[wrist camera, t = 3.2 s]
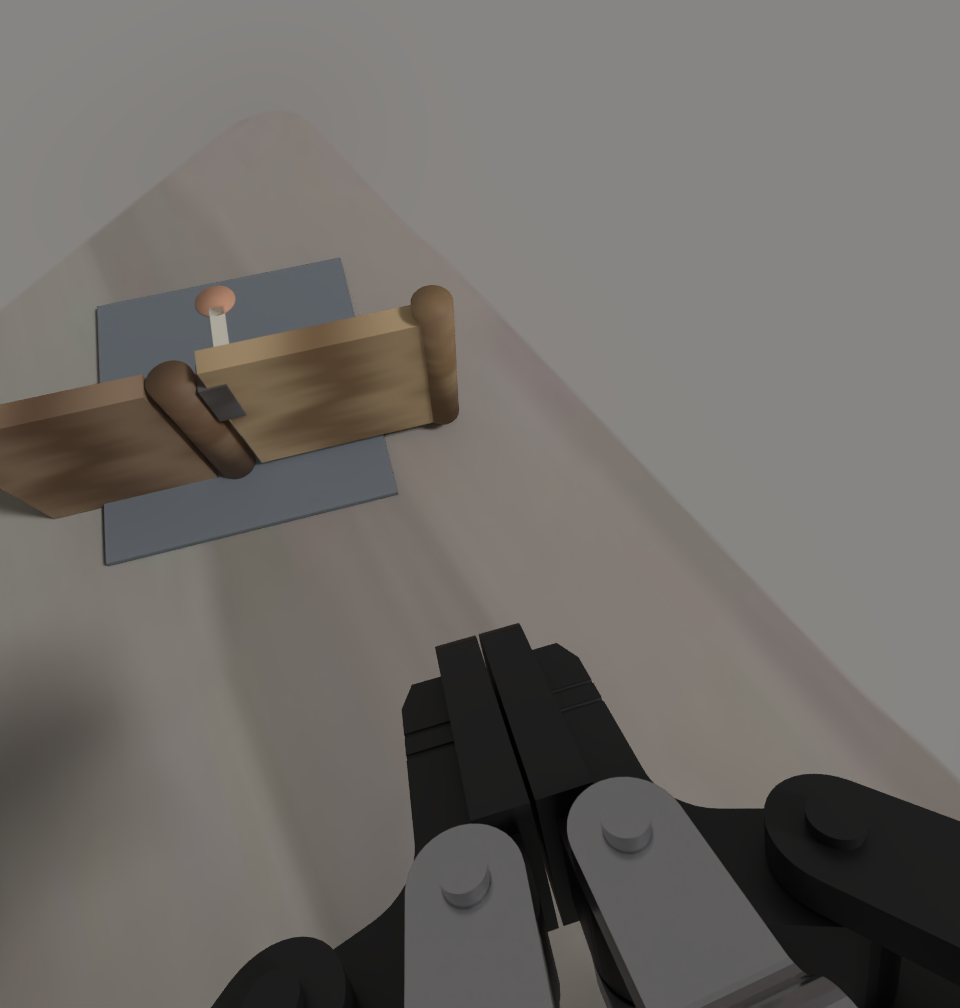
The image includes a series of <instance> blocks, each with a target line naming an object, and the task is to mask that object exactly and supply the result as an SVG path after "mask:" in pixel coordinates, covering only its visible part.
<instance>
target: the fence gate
mask: <svg viewBox="0 0 960 1008" xmlns="http://www.w3.org/2000/svg"><path fill="white" fill-rule="evenodd" d="M194 352H195V361H196V366H195V371H196V380H197V389H198V393H199V394H200V396H201V397H202V398H203V400H204V401H205V402H206V403H207V405H208V406H209V407H210V409H211V410H212V411H213V413H214V414H215V415H216V416H217V418H218V419H219V420H220V421H225V420H229V419H230V420H231V421H232V423H233V424H234V425H235V427H236V428H237V429H238V431H239V432H240V434H241V435H242V436H243V438H244V439H245V440H246V442H247V443H248V444H249V446H250V447H251V449H252V450H253V451H254V453H255V454H256V455H257V457H258V458H259V460H260V461H261V462H262V463H263V462H268V461H272V460H276V459H280V458H285V457H289V456H293V455H297V454H301V453H306V452H310V451H314V450H318V449H323V448H327V447H331V446H335V445H340V444H344V443H348V442H352V441H357V440H361V439H365V438H369V437H374V436H378V435H382V434H386V433H391V432H395V431H399V430H403V429H407V428H412V427H416V426H420V425H424V424H429V423H433V422H434V423H436V424H440V425H444V424H449V423H451V422H453V421H454V420H455V419H456V418H457V416H458V413H459V403H458V384H457V365H456V345H455V326H454V307H453V297H452V295H451V293H450V292H449V291H448V290H446V289H445V288H443V287H440V286H436V285H429V286H425V287H422V288H420V289H418V290H417V291H416V292H415V293H414V294H413V296H412V298H411V305H409V306H404V307H399V308H395V309H390V310H385V311H380V312H376V313H371V314H366V315H362V316H357V317H352V318H348V319H343V320H338V321H333V322H329V323H324V324H319V325H315V326H310V327H305V328H301V329H296V330H291V331H286V332H282V333H277V334H272V335H268V336H263V337H258V338H254V339H249V340H244V341H239V342H235V343H230V344H225V345H221V346H216V347H211V348H207V349H202V350H197V351H194Z"/></svg>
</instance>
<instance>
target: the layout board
mask: <svg viewBox="0 0 960 1008" xmlns="http://www.w3.org/2000/svg"><path fill="white" fill-rule="evenodd" d="M97 315H98V345H99V374H100V383H103V382H108V381H112V380H117V379H122V378H126V377H131V376H136V375H140V374H142V375H143V376H144V377H145V378H146V377H147V375H148V373H149V372H150V371H151V370H152V369H153V368H154V367H155V366H157V365H158V364H160V363H163V362H166V361H171V360H177V361H182V362H184V363H186V364H187V365H189V366H190V368H191V369H192V370H193V372H194V373H195V374H196V371H195V366H196V361H195V352H194V351H197V350H202V349H207V348H211V347H216V346H221V345H225V344H230V343H235V342H239V341H244V340H249V339H254V338H258V337H263V336H268V335H272V334H277V333H282V332H286V331H291V330H296V329H301V328H305V327H310V326H315V325H319V324H324V323H329V322H333V321H338V320H343V319H348V318H352V317H355V316H354V312H353V308H352V304H351V299H350V295H349V291H348V287H347V283H346V279H345V275H344V271H343V267H342V263H341V259H340V258H336V259H331V260H326V261H321V262H316V263H311V264H306V265H301V266H296V267H291V268H286V269H281V270H276V271H271V272H266V273H261V274H256V275H251V276H246V277H241V278H236V279H231V280H226V281H221V282H216V283H211V284H207V285H202V286H197V287H192V288H187V289H182V290H177V291H172V292H167V293H162V294H157V295H152V296H147V297H142V298H137V299H132V300H127V301H122V302H117V303H112V304H107V305H102V306H97ZM229 420H230V419H229ZM230 422H231V423H232V421H231V420H230ZM232 425H233V426H234V427H235V425H234V424H233V423H232ZM235 429H236V430H237V431H238V429H237V428H236V427H235ZM238 433H239V434H240V432H239V431H238ZM240 435H241V434H240ZM241 437H242V438H243V436H242V435H241ZM243 439H244V438H243ZM244 441H245V442H246V440H245V439H244ZM246 444H247V445H248V446H249V444H248V443H247V442H246ZM249 448H250V449H251V447H250V446H249ZM251 450H252V449H251ZM252 452H253V453H254V451H253V450H252ZM254 455H255V458H256V463H255V466H254V468H253V470H252V471H251V472H250V473H249V474H248V475H247V476H245V477H243V478H240V479H228V478H226V477H224V476H223V475H222V474H221V473H220V472H219V471H218V470H217V476H218V477H217V478H212V479H208V480H204V481H200V482H195V483H191V484H187V485H183V486H179V487H174V488H170V489H166V490H162V491H157V492H153V493H149V494H145V495H141V496H136V497H132V498H128V499H124V500H119V501H115V502H111V503H107V504H104V522H105V552H106V564H107V565H109V566H111V565H115V564H119V563H123V562H127V561H131V560H135V559H139V558H143V557H147V556H151V555H155V554H159V553H163V552H167V551H171V550H175V549H179V548H183V547H187V546H192V545H196V544H200V543H204V542H208V541H212V540H216V539H220V538H224V537H228V536H232V535H236V534H240V533H244V532H248V531H252V530H256V529H260V528H264V527H268V526H272V525H276V524H280V523H284V522H288V521H292V520H296V519H300V518H305V517H309V516H313V515H317V514H321V513H325V512H329V511H333V510H337V509H341V508H345V507H349V506H353V505H357V504H361V503H365V502H369V501H373V500H377V499H381V498H385V497H389V496H393V495H397V494H398V492H397V487H396V483H395V479H394V475H393V471H392V467H391V463H390V459H389V455H388V451H387V447H386V442H385V438H384V434H382V435H378V436H374V437H369V438H365V439H361V440H357V441H352V442H348V443H344V444H340V445H335V446H331V447H327V448H323V449H318V450H314V451H310V452H306V453H301V454H297V455H293V456H289V457H285V458H280V459H276V460H272V461H268V462H263V463H262V462H261V461H260V460H259V458H258V457H257V455H256V454H255V453H254Z"/></svg>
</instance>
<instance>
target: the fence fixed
mask: <svg viewBox="0 0 960 1008" xmlns="http://www.w3.org/2000/svg"><path fill="white" fill-rule="evenodd" d="M255 463H256V458H255V455H254V453H253V452H252V450H251V449H250V448H249V446H248V445H247V444H246V442H245V441H244V439H243V438H242V437H241V435H240V434H239V433H238V431H237V430H236V429H235V427H234V426H233V425H232V423H231V422H230V420H225V421H220V420H219V419H218V418H217V416H216V415H215V414H214V413H213V411H212V410H211V409H210V407H209V406H208V405H207V403H206V402H205V401H204V400H203V398H202V397H201V396H200V394H199V393H198V389H197V380H196V374H195V373H194V372H193V370H192V369H191V368H190V366H189V365H187V364H186V363H184V362H182V361H177V360H171V361H166V362H163V363H160V364H158V365H157V366H155V367H154V368H153V369H152V370H151V371H150V372H149V373H148V375H147V377H146V378H145V377H144V376H143V375H142V374H140V375H136V376H131V377H126V378H122V379H117V380H112V381H108V382H103V383H98V384H94V385H89V386H85V387H80V388H75V389H71V390H66V391H61V392H57V393H52V394H47V395H43V396H38V397H33V398H29V399H24V400H19V401H15V402H10V403H5V404H1V405H0V489H1V490H3V491H5V492H7V493H9V494H10V495H12V496H14V497H16V498H18V499H19V500H21V501H23V502H25V503H26V504H28V505H30V506H32V507H34V508H35V509H37V510H39V511H41V512H43V513H44V514H46V515H48V516H50V517H51V518H53V519H56V518H60V517H64V516H69V515H73V514H77V513H81V512H86V511H90V510H94V509H98V508H102V507H104V504H107V503H111V502H115V501H119V500H124V499H128V498H132V497H136V496H141V495H145V494H149V493H153V492H157V491H162V490H166V489H170V488H174V487H179V486H183V485H187V484H191V483H195V482H200V481H204V480H208V479H212V478H217V477H218V476H217V470H218V471H219V472H220V473H221V474H222V475H223V476H224V477H226V478H228V479H240V478H243V477H245V476H247V475H248V474H249V473H250V472H251V471H252V470H253V468H254V466H255Z"/></svg>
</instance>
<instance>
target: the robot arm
mask: <svg viewBox="0 0 960 1008" xmlns="http://www.w3.org/2000/svg"><path fill="white" fill-rule="evenodd" d="M479 639H480V643H481V648H482V652H483V656H484V660H485V663H484V660H483V656H482V653H481V650H480V647H479V644H478V641H477V638H476V636H471V637H468V638H464V639H461V640H457V641H454V642H450V643H447V644H443V645H440V646H436V647H435V649H436V654H437V659H438V664H439V669H440V674H441V677H438V678H434V679H431V680H427V681H424V682H420V683H417V684H413V685H412V686H411V689H410V691H409V693H408V696H407V698H406V700H405V703H404V705H403V708H402V717H403V727H404V735H405V748H406V756H407V768H408V779H409V789H410V799H411V810H412V820H413V830H414V841H415V856H414V862H413V863H412V866H411V868H410V870H409V873H408V877H407V880H406V884H405V886H404V888H403V889H402V891H401V893H400V894H399V896H398V897H397V898H396V900H395V901H394V902H393V903H392V905H391V906H390V907H389V908H388V909H387V910H386V911H385V912H384V913H383V914H382V915H381V916H380V917H378V918H377V919H376V920H375V921H373V922H372V923H371V924H369V925H368V926H366V927H365V928H364V929H362V930H361V931H359V932H358V933H356V934H355V935H354V936H352V937H351V938H349V939H348V940H346V941H345V942H344V943H342V944H341V945H339V946H338V947H336V948H335V949H334V950H333V949H332V948H331V947H330V946H329V945H327V944H326V943H325V942H323V941H321V940H318V939H315V938H311V937H295V938H290V939H286V940H283V941H280V942H278V943H276V944H273V945H271V946H269V947H268V948H266V949H265V950H263V951H261V952H260V953H258V954H257V955H256V956H255V957H253V958H252V959H251V960H250V961H249V962H248V963H246V964H245V965H244V966H243V967H242V968H241V969H240V970H239V971H238V973H237V974H236V975H235V976H234V978H233V979H232V980H231V981H230V982H229V984H228V985H227V987H226V988H225V989H224V991H223V992H222V993H221V995H220V996H219V997H218V999H217V1000H216V1001H215V1003H214V1004H213V1006H212V1007H211V1008H560V1004H559V1003H560V983H559V978H558V973H557V969H556V965H555V961H554V957H553V953H552V949H551V945H550V940H549V936H548V932H549V931H552V930H555V929H557V928H559V927H558V922H557V918H556V913H555V909H554V905H553V900H552V896H551V892H550V887H549V883H548V879H547V875H548V878H549V881H550V885H551V888H552V891H553V894H554V897H555V900H556V904H557V907H558V910H559V913H560V916H561V919H562V923H563V926H565V925H568V924H571V923H574V922H577V921H580V923H581V926H582V929H583V932H584V935H585V938H586V940H587V943H588V946H589V949H590V952H591V955H592V959H593V963H594V968H595V973H596V978H597V983H598V986H599V989H600V992H601V994H602V997H603V999H604V1002H605V1004H606V1006H607V1008H960V821H958V820H955V819H952V818H949V817H947V816H944V815H941V814H939V813H936V812H933V811H931V810H928V809H925V808H922V807H920V806H917V805H914V804H912V803H909V802H906V801H904V800H901V799H898V798H896V797H893V796H890V795H887V794H885V793H882V792H879V791H877V790H874V789H871V788H869V787H866V786H863V785H860V784H858V783H855V782H852V781H850V780H846V779H843V778H840V777H836V776H830V775H824V774H804V775H799V776H794V777H791V778H789V779H786V780H784V781H783V782H781V783H779V784H778V785H777V786H776V787H775V788H774V789H773V790H772V791H771V792H770V794H769V795H768V797H767V799H766V803H765V806H764V809H716V808H705V807H699V806H694V805H691V804H688V803H685V802H682V801H680V800H678V799H676V798H674V797H673V796H672V795H670V794H669V793H668V792H667V791H666V790H664V789H663V788H661V787H660V786H658V785H656V784H654V783H653V782H652V781H651V780H650V778H649V777H648V776H647V774H646V773H645V771H644V770H643V768H642V766H641V765H640V763H639V761H638V759H637V758H636V756H635V754H634V752H633V751H632V749H631V747H630V746H629V744H628V742H627V740H626V739H625V737H624V735H623V733H622V732H621V730H620V728H619V727H618V725H617V723H616V721H615V720H614V718H613V716H612V714H611V713H610V711H609V709H608V708H607V706H606V704H605V702H604V701H602V698H601V695H600V694H599V692H598V690H597V689H596V687H595V685H594V683H592V681H591V678H590V676H589V675H588V673H587V671H586V669H585V668H584V666H583V664H582V663H581V661H580V659H579V657H577V656H576V655H574V654H573V653H571V652H570V651H568V650H566V649H565V648H563V647H562V646H560V645H559V644H557V643H555V644H551V645H548V646H544V647H541V648H537V649H534V650H532V649H531V647H530V645H529V643H528V640H527V638H526V636H525V634H524V632H523V630H522V628H521V626H520V624H519V623H517V624H513V625H510V626H506V627H503V628H499V629H496V630H492V631H489V632H485V633H481V634H479ZM485 664H486V666H485ZM544 865H545V866H544ZM545 869H546V870H545ZM546 872H547V874H546Z"/></svg>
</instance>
